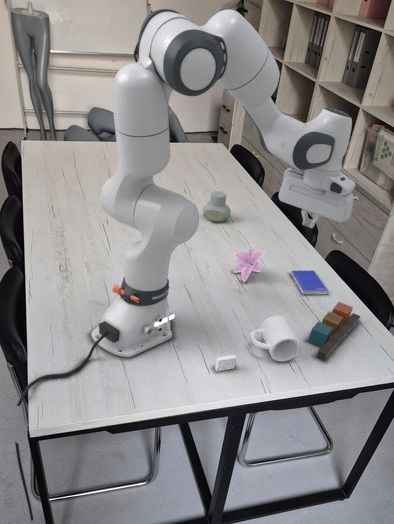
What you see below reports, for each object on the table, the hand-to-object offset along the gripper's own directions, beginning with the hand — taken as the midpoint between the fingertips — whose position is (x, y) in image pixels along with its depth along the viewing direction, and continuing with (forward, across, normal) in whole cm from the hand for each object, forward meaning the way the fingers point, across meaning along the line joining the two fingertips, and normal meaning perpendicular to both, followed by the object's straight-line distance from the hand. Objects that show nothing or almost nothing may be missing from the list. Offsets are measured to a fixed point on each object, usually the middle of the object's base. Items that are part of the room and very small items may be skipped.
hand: (307, 226), depth 136 cm
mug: (+25, +8, -25) cm, 37 cm away
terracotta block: (+25, +16, +2) cm, 30 cm away
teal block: (+25, +16, -12) cm, 32 cm away
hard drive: (+25, 0, +14) cm, 29 cm away
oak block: (+25, +16, -5) cm, 30 cm away
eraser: (+25, +3, -40) cm, 47 cm away
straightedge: (+25, +20, -7) cm, 33 cm away
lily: (+25, -18, +4) cm, 31 cm away
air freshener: (+25, -50, +32) cm, 65 cm away
